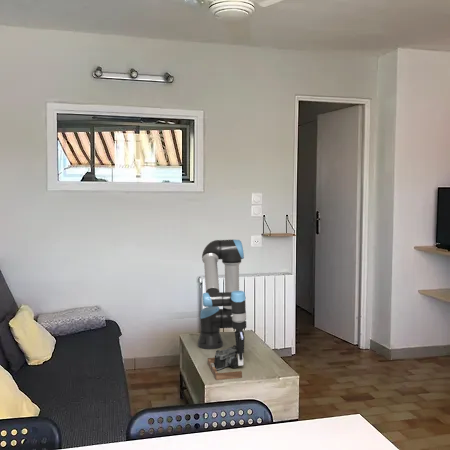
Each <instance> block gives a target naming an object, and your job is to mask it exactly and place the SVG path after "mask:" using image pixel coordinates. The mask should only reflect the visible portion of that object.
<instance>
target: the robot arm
mask: <svg viewBox="0 0 450 450" xmlns="http://www.w3.org/2000/svg"><path fill="white" fill-rule="evenodd" d="M244 254H245V253H244V247H243V243H242V241H241V240H240V239H215V240H212V241H210V242H209V243H208V244H207V245H206V246H205V247H204V250H203V251H202V256H201V260H202V263H203V264H204V266H203V267H204V284H205V292H203V293H202V305H203V307H204V308H202V309H200V311H199V312H200V316H199V318H200V334H199V338H198V340H197V346H198V348H200V349H205V350H213V349H219V348H222V347H223V346H224V342H223V341H224V340H223V338H222V335H221V332H220V331H221V329H234V330H235V331H234V339H235V346H236V350H237V358H238V367H240V366H244V353H245V339H246V337H245V332H244V330H245V329H246V328H247V321H246V320H247V311H246V308H247V307H246V292H245V291H244V290H240V264H241V263H242V260H243V259H244V258H245V255H244ZM219 260H221V263H222V264H223V265H224V292H220V283H219V281H220V279H219V272H218V270H219V268H218V262H219ZM220 307H222V308H220Z"/></svg>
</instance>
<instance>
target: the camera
mask: <svg viewBox="0 0 450 450" xmlns="http://www.w3.org/2000/svg"><path fill="white" fill-rule="evenodd" d="M214 358H215V360H214V365H215V368H216V370H217V371H219V370H222V369H225V368H228V367H231V368H233V369H236V368H238V367H239V366H238V356H237V350H236V344H234V345H233V346H231V347H228V348H225V349H221V350H219V349H217V350H216V351H215V353H214Z"/></svg>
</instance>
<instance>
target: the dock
mask: <svg viewBox="0 0 450 450" xmlns="http://www.w3.org/2000/svg"><path fill="white" fill-rule="evenodd" d="M214 360H215V357H208V358H207V365H208V367H209V369H210V370H211V372H212V374H213V377H214V379H215V380H216V381H220V380H231V379H232V380H233V379H241V378H243V371H241V370H240V371H226V372H218V370H216V368H215V365H214Z"/></svg>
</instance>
